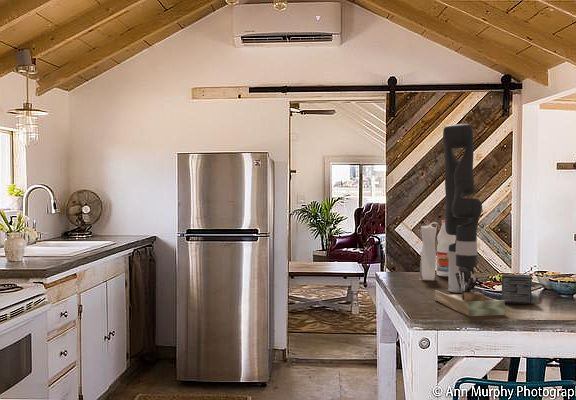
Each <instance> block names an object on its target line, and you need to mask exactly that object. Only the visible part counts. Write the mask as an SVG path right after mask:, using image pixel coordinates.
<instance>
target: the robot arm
mask: <svg viewBox="0 0 576 400" xmlns="http://www.w3.org/2000/svg"><path fill="white" fill-rule="evenodd" d="M442 141H443V151H444V154H443V155H444V188H445V189H444V190H445V191H444V192H445V219H444V220H445V229H446V232H447V234H449V235H455V236H456V240H455V243H452V244H450V245H449V272H448V276H447V278H448V280H447V281H448V284H447V285H448V286H447V287H448V288H447V290H448V292H451V293H457V294H458V293H459V294H462V300H464V292H470V291H473V292H474V289H475V287H476V284H477V283H478V277H475V269H474V268H476V267H478V243H477V241H478V238H477V237H478V236H477V235H478V233H477V231H478V225H479V221H480V218H481V215H482V212H483V203H482V202H481V199H479V198H474V197H473V198H465V197H470V196H471V195H473V194H475V190H476V188H475V178H474V131H473V127H472V125H471V124H469V123H458V124H449V125H445V126H444V127H443V132H442ZM463 148H465V149H464V154H463V156H462V157H461V159H460V161H459V160H458V158H457V156H456V155H455V154H454V151H453V149H463Z"/></svg>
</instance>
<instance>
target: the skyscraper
mask: <svg viewBox="0 0 576 400" xmlns="http://www.w3.org/2000/svg"><path fill="white" fill-rule="evenodd" d="M433 224H436V227H433V226H432V225H433ZM438 224H439V223H438V222H431V223H430V224H429V225H421V226H420V228H421V229H420V230H421V241H422V249H421V253H420V261H419V278H418V279H419V281H435V278H436V277H435V275H436V269H437V249H436V246H435V244H436V239H437V229H438Z"/></svg>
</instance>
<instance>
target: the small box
mask: <svg viewBox="0 0 576 400" xmlns="http://www.w3.org/2000/svg"><path fill="white" fill-rule="evenodd" d="M501 300H505V304H513V305H514V304H517V305H532V304H533V303H532V277H531V275H529V274H528V275H527V274H526V275H523V274H501Z"/></svg>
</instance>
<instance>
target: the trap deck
mask: <svg viewBox="0 0 576 400" xmlns="http://www.w3.org/2000/svg"><path fill="white" fill-rule="evenodd" d="M470 292H474V290H473V291H470ZM434 301H436V302H437V301H438V303H439V302H440V304H441V303H442V304H441V305H444V306H446V307H448V308H449V309H453V310H454V311H456V312H459V313H461V314H464V315H465V316H468V317H483V316H484V317H485V316H505V314H506V311H505V310H506V309H505V308H506V307H505V305H506V303H505V300H502V299H501V300H498V299H493V298H492V297H489V296H486V295H484V301H468V302H465V301H464V300H462V293H459V294H447V293H444V292H442V291H439V290H436V289H435V290H434Z"/></svg>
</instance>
